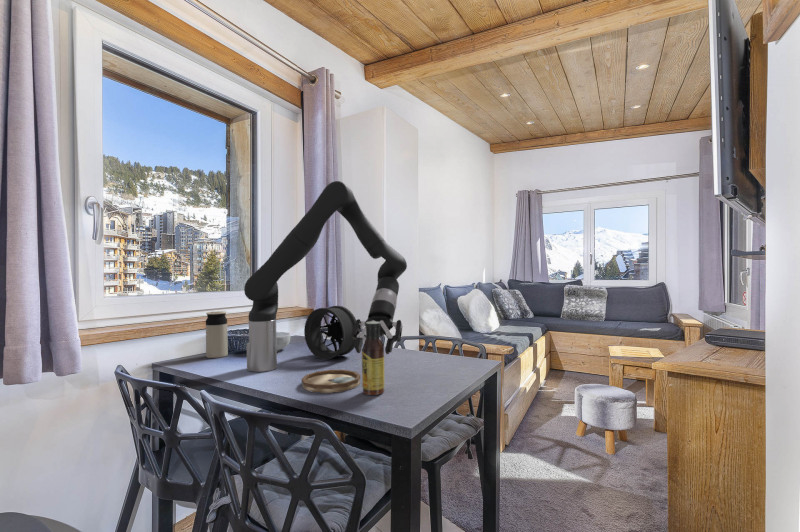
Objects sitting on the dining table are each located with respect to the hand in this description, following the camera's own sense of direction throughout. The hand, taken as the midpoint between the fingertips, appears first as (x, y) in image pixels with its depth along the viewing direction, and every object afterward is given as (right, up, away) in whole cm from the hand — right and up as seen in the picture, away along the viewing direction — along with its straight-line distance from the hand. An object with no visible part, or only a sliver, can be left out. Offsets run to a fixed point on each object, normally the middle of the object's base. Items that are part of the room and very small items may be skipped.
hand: (372, 352), depth 112 cm
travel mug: (-67, -13, +52) cm, 86 cm away
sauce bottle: (0, -12, +1) cm, 12 cm away
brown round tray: (-13, -12, +10) cm, 20 cm away
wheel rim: (-19, -12, +46) cm, 52 cm away
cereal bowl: (-48, -13, +62) cm, 79 cm away
